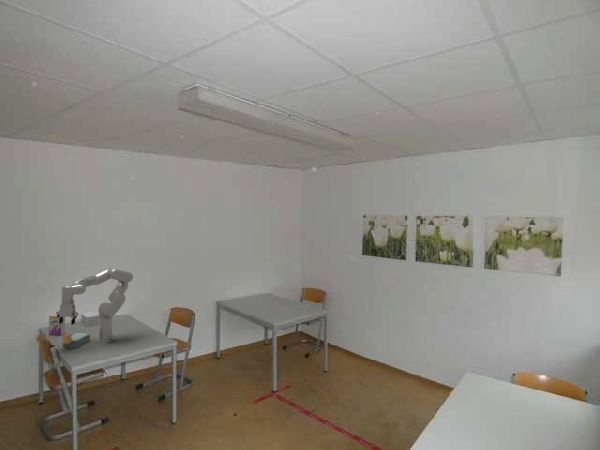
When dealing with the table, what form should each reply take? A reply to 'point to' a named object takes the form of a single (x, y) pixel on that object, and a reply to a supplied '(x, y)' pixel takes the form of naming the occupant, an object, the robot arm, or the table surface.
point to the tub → (77, 342)
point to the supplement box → (90, 318)
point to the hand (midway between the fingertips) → (67, 323)
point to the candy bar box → (56, 325)
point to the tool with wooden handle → (73, 337)
